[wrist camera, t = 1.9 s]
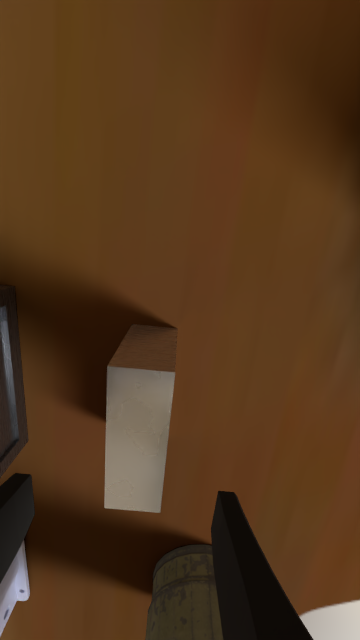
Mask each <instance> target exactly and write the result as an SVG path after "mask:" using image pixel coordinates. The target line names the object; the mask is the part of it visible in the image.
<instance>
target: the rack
mask: <svg viewBox="0 0 360 640" xmlns="http://www.w3.org/2000/svg"><path fill="white" fill-rule="evenodd" d="M27 442H28V432H27V420H26V409H25V398H24V387H23V376H22V364H21V353H20V342H19V331H18V320H17V308H16V297H15V286H6V285H0V477H1V476H2V475H3V473H4V472H5V471H6V469H7V468H8V467H9V465H10V464H11V463H12V462H13V460H14V459H15V458H16V456H17V455H18V454H19V452H20V451H21V450H22V448H23V447H24V446H25V445H26V443H27Z"/></svg>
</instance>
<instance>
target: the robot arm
mask: <svg viewBox="0 0 360 640" xmlns="http://www.w3.org/2000/svg"><path fill="white" fill-rule="evenodd" d="M34 515H35V510H34V499H33V488H32V477H31V475H30V474H19V473H15V474H14V475H12V476H11V477H10V478H9V479H8V480H7V481H6V482H4V483H3V484H2V485H1V486H0V636H1V634H2V632H3V629H4V627H5V625H6V623H7V621H8V618H9V616H10V614H11V612H12V610H13V608H14V605H15V603H16V601H26V600H27V599H28V597H29V595H30V590H29V581H28V572H27V563H26V554H25V545H24V538H25V536H26V533H27V531H28V529H29V526H30V524H31V522H32V519H33V517H34ZM211 537H212V556H213V568H214V575H215V583H216V590H217V597H218V605H219V612H220V619H221V627H222V634H223V640H313V638H312V637H311V635H310V634H309V632H308V630H307V629H306V627H305V626H304V624H303V622H302V621H301V619H300V618H299V616H298V614H297V613H296V611H295V609H294V608H293V606H292V604H291V603H290V601H289V599H288V597H287V596H286V594H285V592H284V590H283V589H282V587H281V585H280V583H279V582H278V580H277V578H276V576H275V574H274V573H273V571H272V569H271V567H270V565H269V563H268V561H267V559H266V557H265V555H264V554H263V552H262V550H261V548H260V546H259V544H258V542H257V540H256V538H255V536H254V534H253V532H252V529H251V527H250V525H249V523H248V521H247V519H246V517H245V514H244V512H243V510H242V508H241V505H240V503H239V500H238V498H237V496H236V494H235V493H234V492H225V491H218V495H217V501H216V506H215V511H214V516H213V521H212V527H211Z"/></svg>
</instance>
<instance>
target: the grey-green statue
mask: <svg viewBox="0 0 360 640" xmlns="http://www.w3.org/2000/svg"><path fill="white" fill-rule="evenodd" d="M145 640H223V634H222V627H221V619H220V612H219V605H218V597H217V590H216V583H215V575H214V568H213V556H212V546H211V545H188V546H184V547H180V548H176V549H174V550H172V551H171V552H169V553H167V554H165V555H164V556H163V557H162V558H161V559H160V560H159V561H158V562H157V564H156V567H155V569H154V572H153V593H152V602H151V604H150V607H149V610H148V618H147V629H146V639H145Z"/></svg>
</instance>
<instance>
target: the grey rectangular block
mask: <svg viewBox="0 0 360 640" xmlns="http://www.w3.org/2000/svg"><path fill="white" fill-rule="evenodd" d="M177 331H178V329H176V328H166V327H156V326H146V325H136V324H132V325H131V327H130V329H129V330H128V332H127V334H126V335H125V337H124V339H123V340H122V342H121V344H120V346H119V347H118V349H117V351H116V352H115V354H114V356H113V357H112V359H111V361H110V362H109V364H108V366H107V404H106V454H105V504H104V508H111V509H122V510H134V511H146V512H158V513H160V508H161V499H162V490H163V480H164V471H165V462H166V452H167V443H168V434H169V424H170V415H171V406H172V396H173V387H174V378H175V365H176V348H177Z"/></svg>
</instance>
